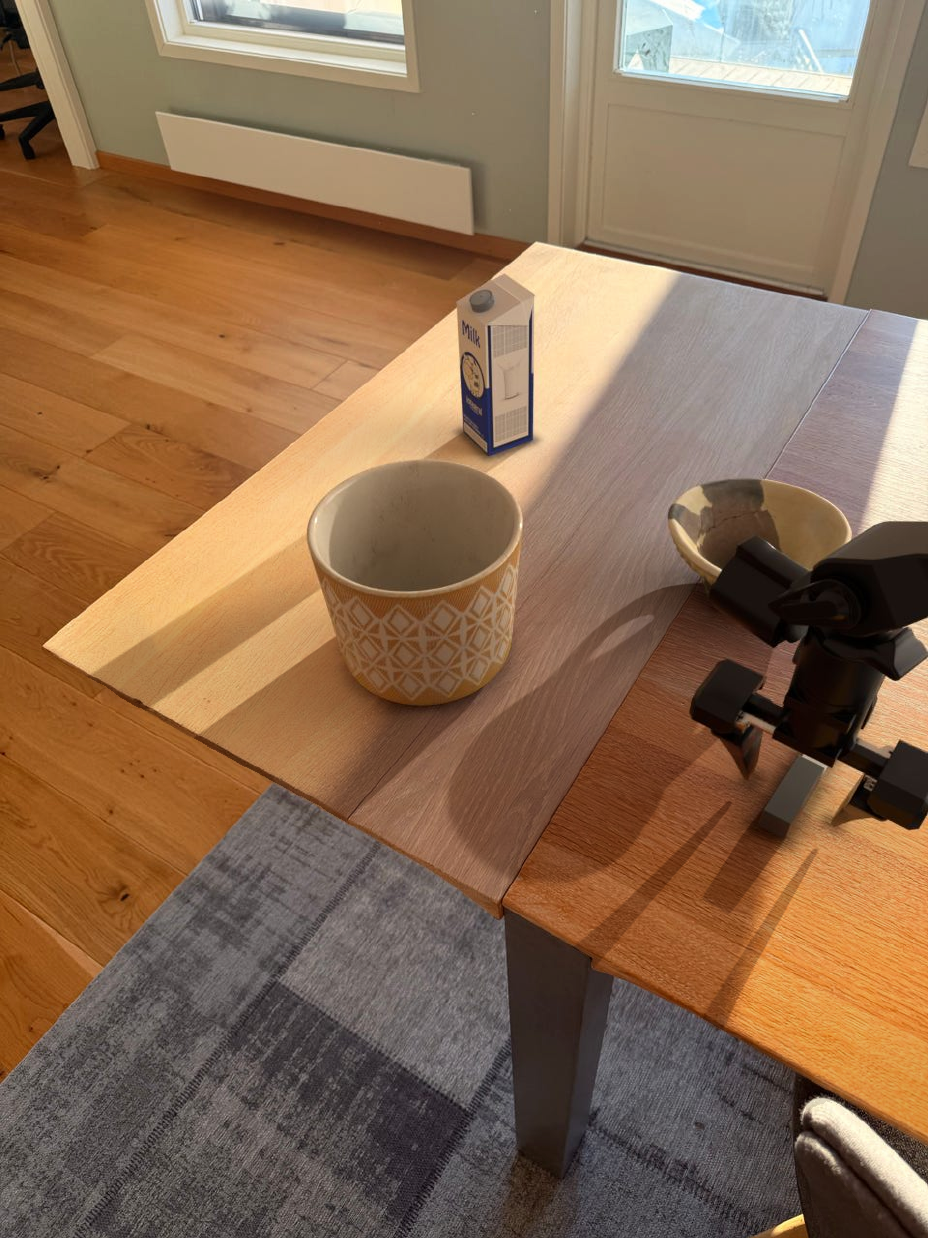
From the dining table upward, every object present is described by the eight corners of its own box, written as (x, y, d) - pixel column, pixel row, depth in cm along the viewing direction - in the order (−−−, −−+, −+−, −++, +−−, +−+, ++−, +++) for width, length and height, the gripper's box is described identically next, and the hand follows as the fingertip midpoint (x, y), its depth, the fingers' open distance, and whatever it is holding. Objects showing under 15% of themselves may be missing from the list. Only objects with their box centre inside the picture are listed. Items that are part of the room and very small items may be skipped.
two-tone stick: (784, 840, 75) (790, 824, 73) (757, 825, 76) (762, 809, 75) (862, 711, 84) (869, 695, 83) (836, 700, 85) (843, 683, 84)
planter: (309, 710, 87) (277, 585, 76) (359, 576, 101) (339, 452, 89) (508, 732, 84) (506, 605, 73) (532, 591, 98) (534, 465, 86)
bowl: (863, 591, 96) (889, 520, 89) (761, 680, 88) (781, 609, 81) (725, 517, 105) (739, 447, 98) (622, 591, 97) (630, 521, 90)
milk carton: (533, 440, 118) (535, 293, 104) (489, 456, 116) (484, 308, 102) (505, 415, 123) (503, 271, 108) (462, 430, 120) (454, 285, 106)
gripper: (1004, 666, 66) (934, 789, 77) (764, 567, 75) (732, 691, 86) (954, 767, 60) (887, 885, 71) (699, 647, 69) (674, 769, 80)
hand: (790, 798), depth 77 cm, fingers open, 7 cm apart
